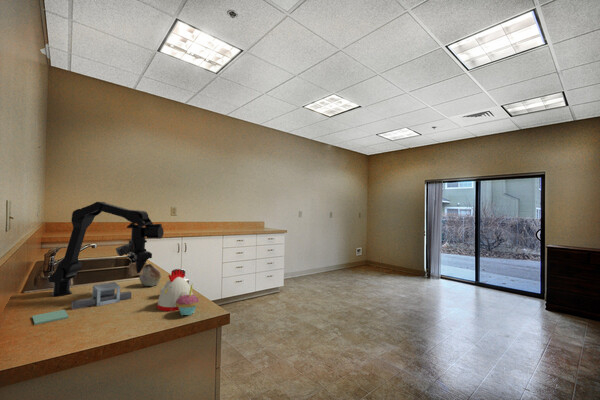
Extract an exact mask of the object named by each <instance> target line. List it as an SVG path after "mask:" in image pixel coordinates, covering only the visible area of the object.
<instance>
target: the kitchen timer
mask: <svg viewBox="0 0 600 400" xmlns="http://www.w3.org/2000/svg"><path fill="white" fill-rule="evenodd" d="M177 269H178V271H177V270H175V269H174V270H175V273H174V272H173V271H172V270H171V271H172V272H170V273H171V274H168V279H169V280H167V281H168V282H167V281H166V283H165V285H164V286H163V287H161V288H160V290H159V291H160V294H159V296H158V300H157V306H156V307H157V309H158V310H159V309H160V310H159V311H162V310H163V312H176V311H175V310H179V308H178V307H177V306H176V305H175V302H176V300H177V299H178V298H179V297H181V296H183V295H189V294H190V288H191V285H190V283H189V284H188V282H187V281H186V280H185V279H186V278H184V275H185V276H186V272H185V273H183V271H180V269H181V268H177ZM182 273H183V274H182ZM183 278H184V279H183ZM191 295H194V293H193V291H192V292H191ZM179 311H180V310H179Z"/></svg>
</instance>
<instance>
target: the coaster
mask: <svg viewBox="0 0 600 400" xmlns="http://www.w3.org/2000/svg"><path fill="white" fill-rule="evenodd" d="M31 317H32V321H33V323H34V324H33V325H34V326H36V325H37V326H38V325H42V324H45V323H51V322H55V321H60V320H61V321H62V320H66V319H68V318H69V317H70V316H69V314H68V312H67V311H66V309H60V310H56V311H55V310H54V311H49V312H46V313H45V312H44V313H39V314H35V315H31Z"/></svg>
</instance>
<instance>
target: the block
mask: <svg viewBox="0 0 600 400" xmlns="http://www.w3.org/2000/svg"><path fill="white" fill-rule="evenodd" d="M143 269H144V267H143V268H142V270H141V272H140V273H137V269H136V263H131V262H130V263H129V266H128V275H129V276H131V277H135V276H140V275H143Z"/></svg>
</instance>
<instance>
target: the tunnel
mask: <svg viewBox="0 0 600 400" xmlns="http://www.w3.org/2000/svg"><path fill="white" fill-rule="evenodd" d="M91 291H92V292H91V293H92V295H91V298H92V297H97V302H96V305H95V306H97V307H98V306H104V305H110V304H113V303H114V304H115V303H120V302H121V301H120V293H121V286H120V284H117V283H116V282H107V283H106V282H105V283H99V284H94V285H92V290H91ZM115 293H117V294H116V299H112V300H107V301H102V302H100V296H104V295H109V294H115Z"/></svg>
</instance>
